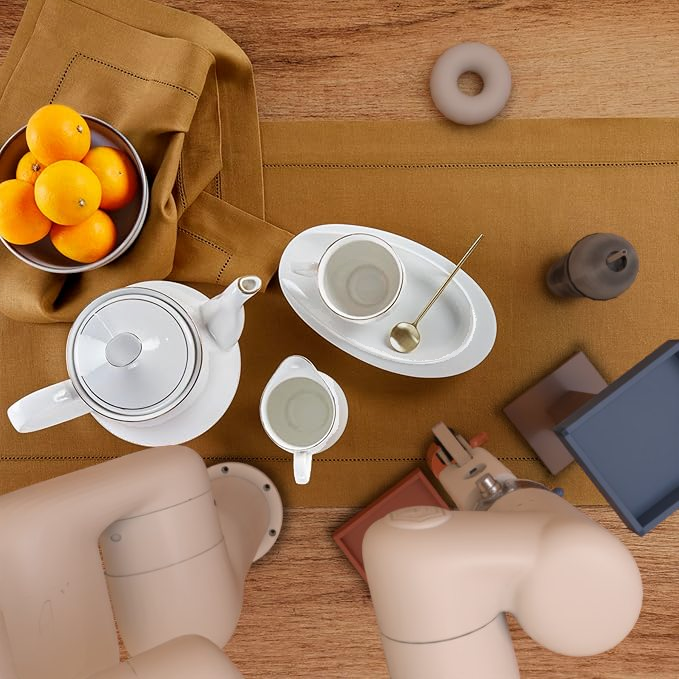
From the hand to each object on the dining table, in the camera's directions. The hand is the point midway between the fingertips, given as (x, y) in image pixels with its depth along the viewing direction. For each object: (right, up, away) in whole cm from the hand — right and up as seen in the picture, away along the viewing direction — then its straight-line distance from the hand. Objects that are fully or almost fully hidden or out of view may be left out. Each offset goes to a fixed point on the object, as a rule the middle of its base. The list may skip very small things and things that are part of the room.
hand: (479, 485), depth 64 cm
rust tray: (-6, -10, +15) cm, 19 cm away
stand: (+14, +6, +16) cm, 22 cm away
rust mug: (0, +1, +16) cm, 16 cm away
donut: (+2, +46, +17) cm, 49 cm away
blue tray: (+14, +6, -6) cm, 16 cm away
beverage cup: (+14, +22, +16) cm, 31 cm away
